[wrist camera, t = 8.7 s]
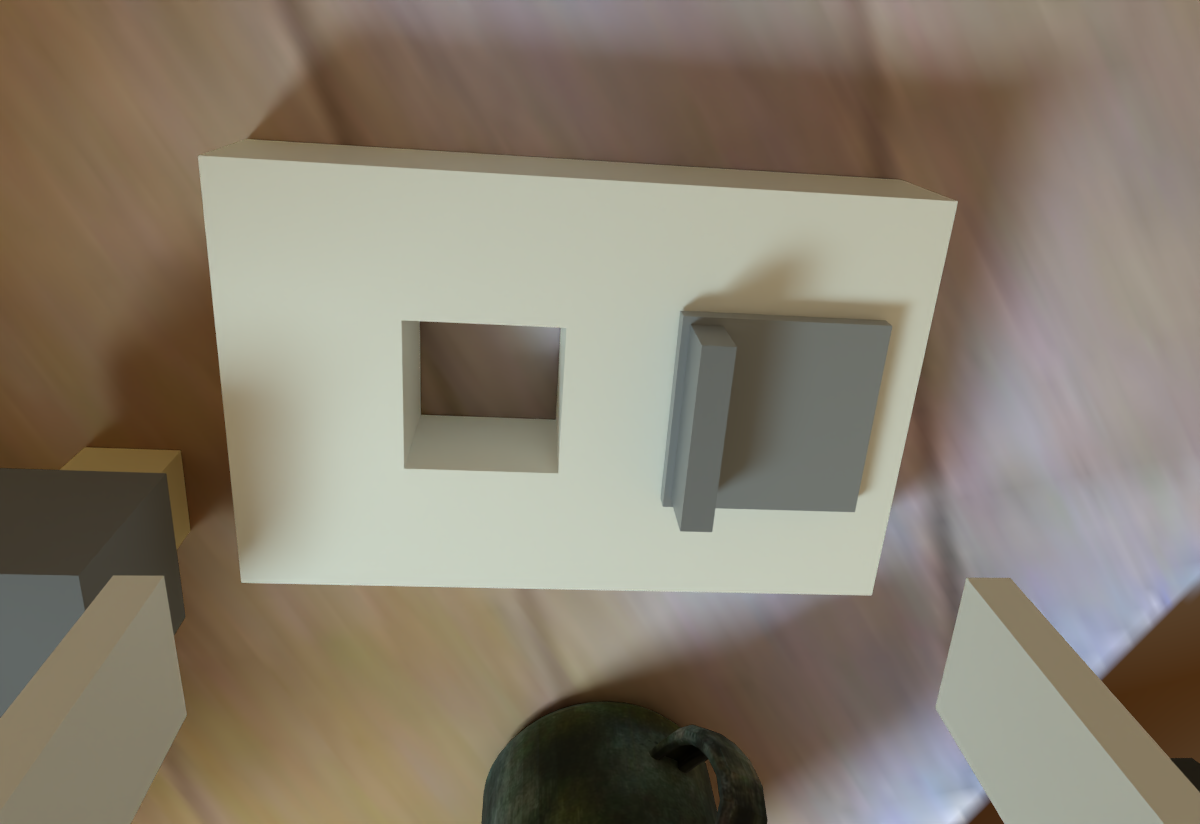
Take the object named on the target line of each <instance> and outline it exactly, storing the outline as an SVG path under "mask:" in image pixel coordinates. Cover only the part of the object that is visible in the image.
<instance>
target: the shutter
mask: <svg viewBox="0 0 1200 824" xmlns="http://www.w3.org/2000/svg"><path fill="white" fill-rule="evenodd" d="M891 331H892V325H891V324H889V323H888V322H887V321H886V320H867V319H847V318H826V317H805V316H784V315H763V314H742V313H721V312H700V311H680V318H679V328H678V337H677V347H676V356H675V365H674V375H673V384H672V394H671V403H670V413H669V422H668V432H667V441H666V450H665V460H664V469H663V479H662V488H661V502H662V506H663V507H673V509H674V512H675V515H676V519H677V522H678V526H679V529H680V531H685V532H712V530H713V523H714V515H715V508H723V509H759V510H794V511H829V512H855V509H856V504H857V499H858V494H859V489H860V485H861V480H862V475H863V470H864V465H865V460H866V455H867V450H868V445H869V440H870V435H871V430H872V425H873V420H874V415H875V410H876V405H877V400H878V395H879V390H880V385H881V380H882V376H883V371H884V366H885V361H886V356H887V351H888V346H889V341H890V336H891Z"/></svg>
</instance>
